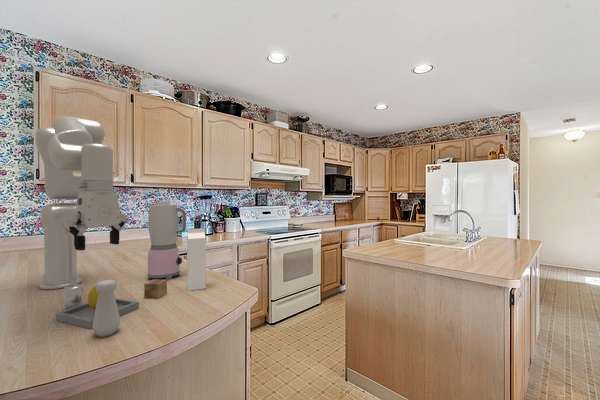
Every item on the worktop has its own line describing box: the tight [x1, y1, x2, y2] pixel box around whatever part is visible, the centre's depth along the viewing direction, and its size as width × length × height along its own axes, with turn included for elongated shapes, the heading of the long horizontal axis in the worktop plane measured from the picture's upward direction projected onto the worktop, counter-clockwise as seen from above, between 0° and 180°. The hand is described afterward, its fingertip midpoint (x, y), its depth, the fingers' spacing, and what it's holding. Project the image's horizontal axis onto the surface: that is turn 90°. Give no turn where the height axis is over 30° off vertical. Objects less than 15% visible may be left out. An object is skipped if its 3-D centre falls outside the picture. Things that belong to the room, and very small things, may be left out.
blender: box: [147, 201, 187, 281], centre depth 118 cm, size 16×12×32 cm
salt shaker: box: [91, 279, 121, 338], centre depth 70 cm, size 6×6×13 cm
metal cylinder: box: [64, 283, 85, 311], centre depth 85 cm, size 4×4×7 cm
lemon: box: [87, 285, 99, 309], centre depth 81 cm, size 6×6×8 cm
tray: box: [55, 297, 140, 330], centre depth 81 cm, size 14×14×2 cm
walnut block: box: [143, 278, 168, 300], centre depth 96 cm, size 5×5×5 cm
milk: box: [186, 227, 207, 292], centre depth 105 cm, size 6×6×22 cm
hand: (98, 246), depth 81 cm, fingers open, 9 cm apart
